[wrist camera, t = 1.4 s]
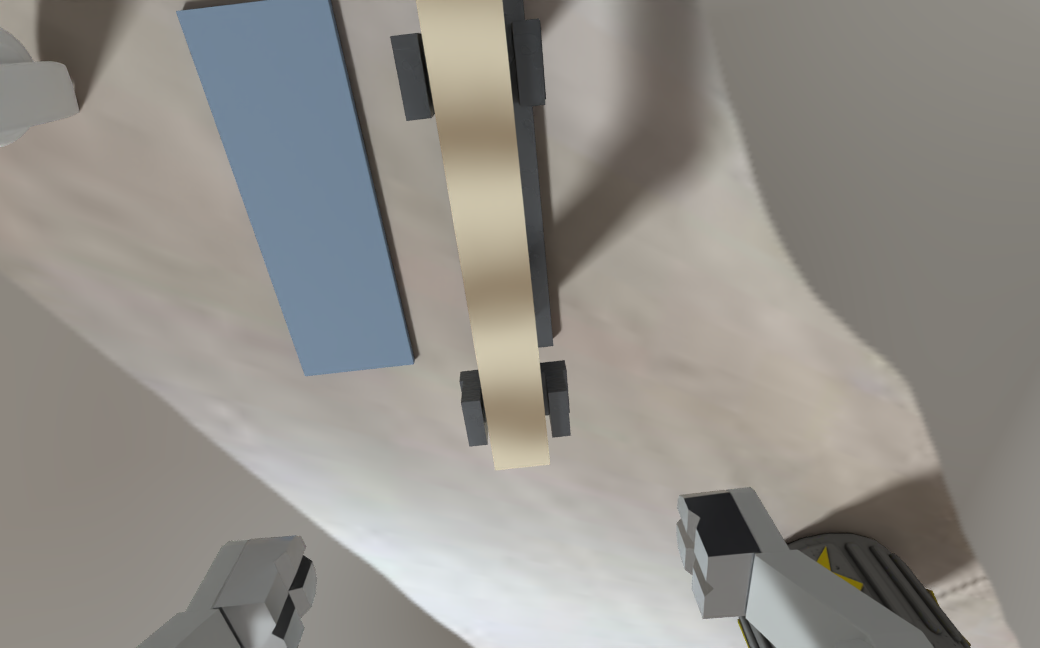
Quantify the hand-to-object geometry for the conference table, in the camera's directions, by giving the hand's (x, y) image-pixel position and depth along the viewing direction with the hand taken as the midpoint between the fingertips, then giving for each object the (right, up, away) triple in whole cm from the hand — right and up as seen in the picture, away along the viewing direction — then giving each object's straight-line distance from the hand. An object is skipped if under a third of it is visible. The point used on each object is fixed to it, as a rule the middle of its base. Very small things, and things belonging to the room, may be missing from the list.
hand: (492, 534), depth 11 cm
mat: (-14, +12, +27) cm, 32 cm away
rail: (-1, +8, +15) cm, 17 cm away
